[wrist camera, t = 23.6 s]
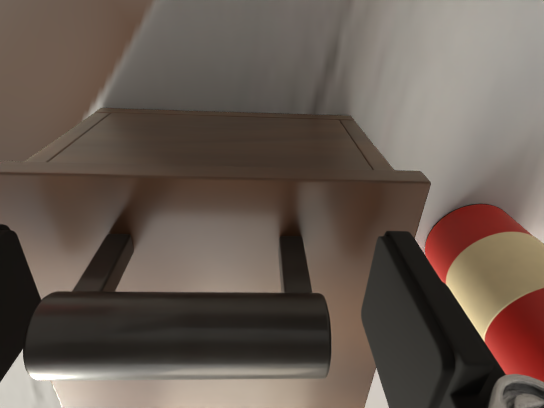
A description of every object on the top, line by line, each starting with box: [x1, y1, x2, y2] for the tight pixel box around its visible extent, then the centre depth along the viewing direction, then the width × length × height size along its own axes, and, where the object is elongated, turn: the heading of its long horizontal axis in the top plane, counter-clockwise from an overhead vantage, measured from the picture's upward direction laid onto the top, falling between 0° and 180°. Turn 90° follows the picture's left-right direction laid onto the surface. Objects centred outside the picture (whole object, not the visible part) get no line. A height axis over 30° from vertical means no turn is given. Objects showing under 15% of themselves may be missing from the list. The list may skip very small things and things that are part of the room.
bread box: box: [25, 108, 394, 170], centre depth 18 cm, size 15×13×8 cm
